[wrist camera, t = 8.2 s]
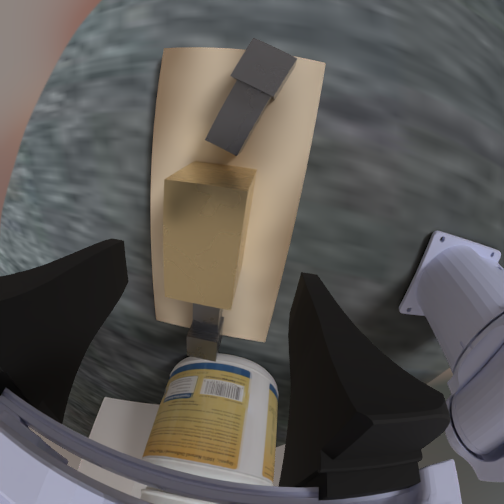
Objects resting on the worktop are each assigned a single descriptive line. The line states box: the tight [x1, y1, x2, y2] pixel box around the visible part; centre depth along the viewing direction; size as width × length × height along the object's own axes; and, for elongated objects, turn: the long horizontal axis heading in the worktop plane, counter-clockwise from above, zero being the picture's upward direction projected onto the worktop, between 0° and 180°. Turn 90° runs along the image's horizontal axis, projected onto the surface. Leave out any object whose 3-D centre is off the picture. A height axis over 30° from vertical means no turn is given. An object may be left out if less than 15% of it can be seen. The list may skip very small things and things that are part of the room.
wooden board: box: [151, 48, 326, 342], centre depth 19 cm, size 10×22×1 cm, turn 172°
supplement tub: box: [140, 353, 278, 504], centre depth 21 cm, size 12×12×17 cm
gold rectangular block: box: [163, 161, 257, 310], centre depth 16 cm, size 4×7×5 cm, turn 172°
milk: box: [78, 397, 160, 499], centre depth 26 cm, size 12×12×26 cm
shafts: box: [187, 38, 297, 362], centre depth 17 cm, size 4×22×3 cm, turn 172°
